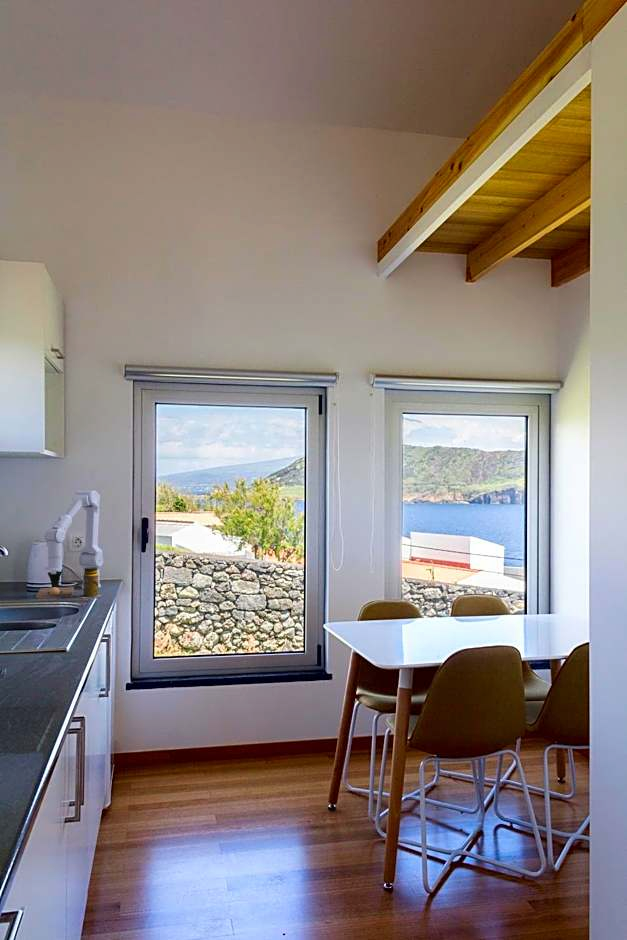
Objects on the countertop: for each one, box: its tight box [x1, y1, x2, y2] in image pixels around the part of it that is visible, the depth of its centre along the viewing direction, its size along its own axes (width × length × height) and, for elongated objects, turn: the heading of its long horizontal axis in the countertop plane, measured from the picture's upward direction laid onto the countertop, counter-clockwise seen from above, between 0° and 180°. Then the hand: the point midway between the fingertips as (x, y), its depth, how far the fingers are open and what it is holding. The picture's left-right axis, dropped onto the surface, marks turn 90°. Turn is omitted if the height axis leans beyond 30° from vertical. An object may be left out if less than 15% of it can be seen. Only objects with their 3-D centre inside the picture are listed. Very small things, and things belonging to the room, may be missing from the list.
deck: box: [35, 586, 75, 599], centre depth 341 cm, size 18×14×2 cm
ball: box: [50, 587, 60, 594], centre depth 337 cm, size 4×4×4 cm
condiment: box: [75, 567, 102, 599], centre depth 337 cm, size 7×8×12 cm
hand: (55, 588), depth 339 cm, fingers closed, pressing on ball
